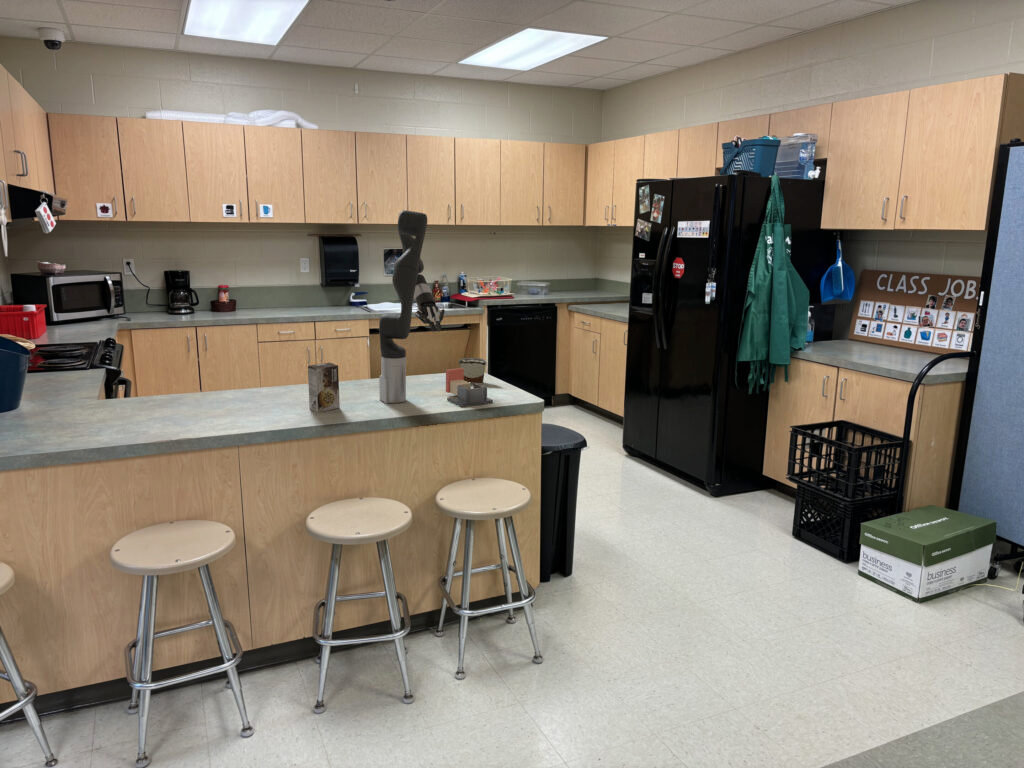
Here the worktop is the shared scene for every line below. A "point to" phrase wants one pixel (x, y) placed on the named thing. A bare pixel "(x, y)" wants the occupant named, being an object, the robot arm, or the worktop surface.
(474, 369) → the food container
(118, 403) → the worktop surface
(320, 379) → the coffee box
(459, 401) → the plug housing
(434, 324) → the robot arm
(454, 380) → the red plug
